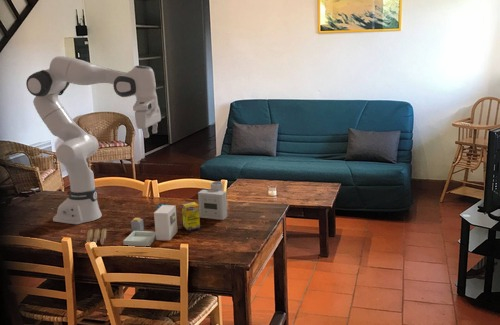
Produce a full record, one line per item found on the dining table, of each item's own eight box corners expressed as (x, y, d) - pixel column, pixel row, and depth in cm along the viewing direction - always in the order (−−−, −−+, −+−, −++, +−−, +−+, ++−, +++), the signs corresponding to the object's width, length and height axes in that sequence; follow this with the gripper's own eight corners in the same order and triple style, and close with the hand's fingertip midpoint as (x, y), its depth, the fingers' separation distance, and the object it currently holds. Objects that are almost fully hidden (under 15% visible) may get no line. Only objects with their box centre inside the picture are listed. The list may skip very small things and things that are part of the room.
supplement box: (188, 231, 228) (186, 207, 226) (183, 227, 234) (181, 203, 231) (200, 228, 231) (199, 205, 228) (195, 224, 236) (194, 201, 234)
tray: (123, 245, 216) (123, 240, 215) (134, 235, 226) (133, 230, 226) (148, 246, 214) (148, 241, 213) (158, 236, 224) (158, 231, 224)
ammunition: (88, 228, 224) (84, 235, 216) (106, 227, 224) (102, 234, 216) (89, 238, 225) (85, 246, 217) (107, 237, 225) (103, 245, 217)
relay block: (131, 232, 230) (130, 220, 228) (135, 229, 233) (134, 216, 232) (140, 232, 229) (139, 220, 227) (143, 229, 233) (142, 217, 231)
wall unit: (154, 239, 220) (152, 212, 217) (163, 231, 230) (161, 205, 227) (171, 240, 219) (169, 213, 216) (179, 231, 228) (177, 205, 225)
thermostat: (199, 217, 245) (197, 186, 241) (212, 207, 258) (211, 178, 254) (223, 220, 240) (221, 188, 237) (235, 210, 253) (234, 180, 249)
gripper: (149, 100, 235) (152, 130, 239) (131, 107, 216) (135, 140, 219) (162, 100, 234) (165, 130, 237) (145, 106, 215) (149, 139, 218)
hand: (151, 135), depth 228 cm, fingers open, 8 cm apart
